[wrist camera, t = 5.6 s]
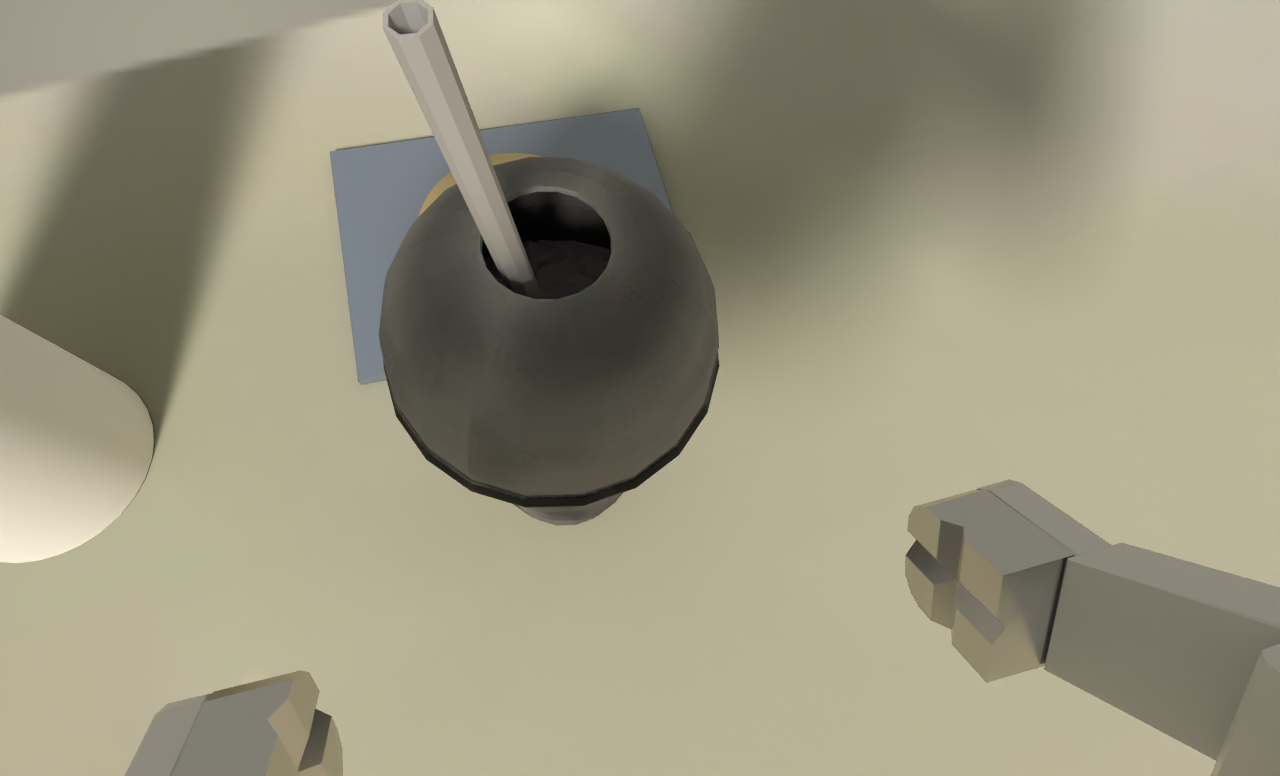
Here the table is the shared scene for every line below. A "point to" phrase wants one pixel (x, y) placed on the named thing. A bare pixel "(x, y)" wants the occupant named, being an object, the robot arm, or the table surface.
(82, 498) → the cylindrical container
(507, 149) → the card
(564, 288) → the beverage cup
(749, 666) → the table surface
